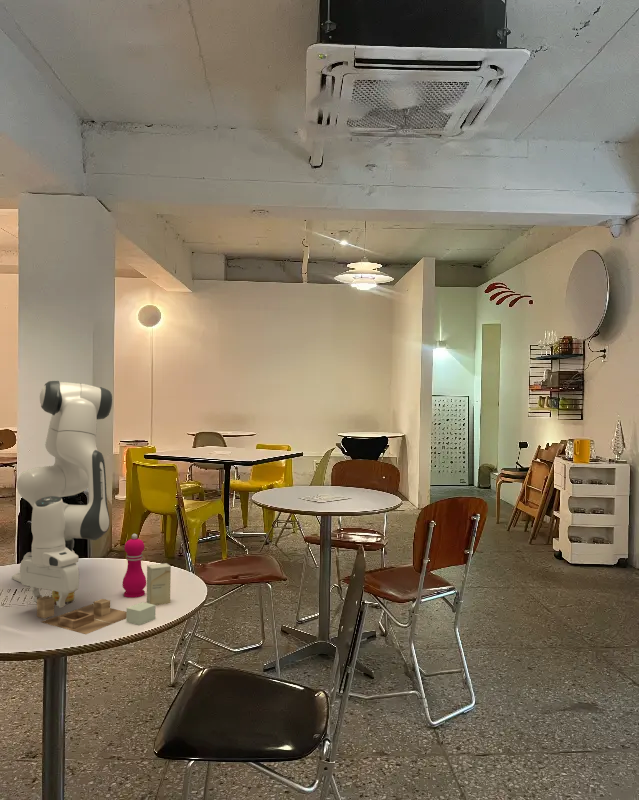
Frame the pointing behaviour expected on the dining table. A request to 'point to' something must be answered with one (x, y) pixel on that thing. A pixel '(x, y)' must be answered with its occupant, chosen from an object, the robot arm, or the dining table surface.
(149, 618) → the housing
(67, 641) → the dining table surface
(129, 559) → the pepper mill
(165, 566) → the skincare box
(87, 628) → the board
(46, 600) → the oak peg
